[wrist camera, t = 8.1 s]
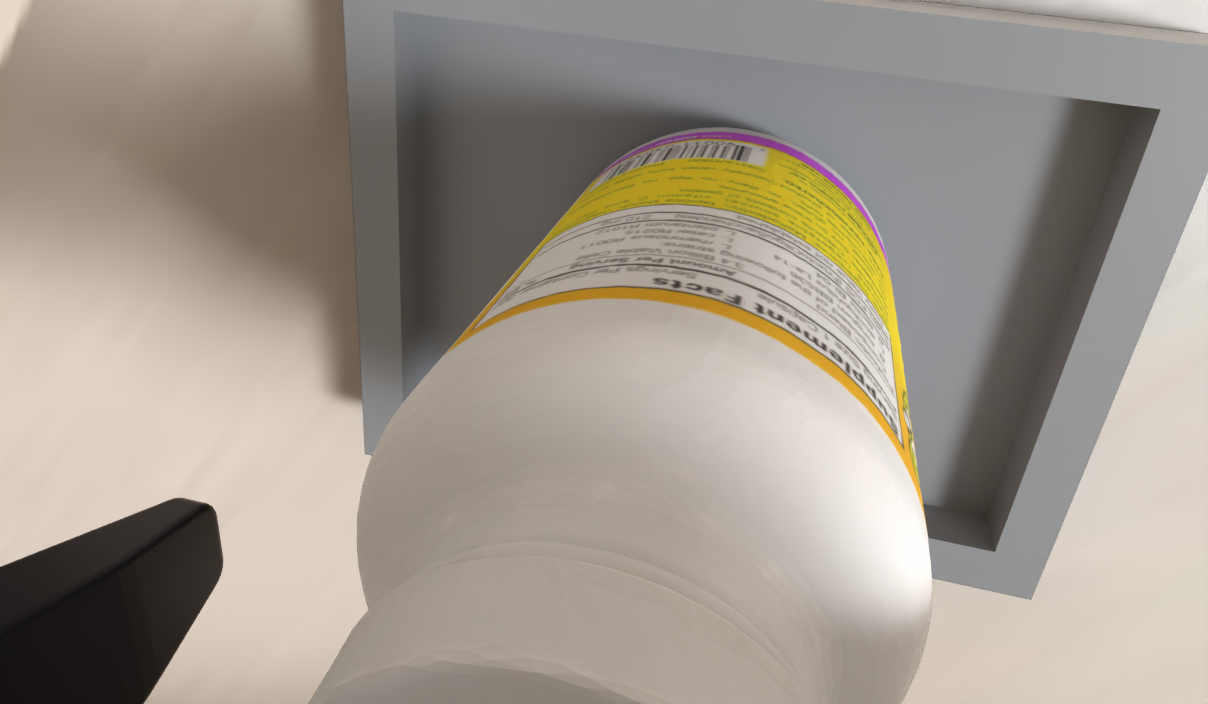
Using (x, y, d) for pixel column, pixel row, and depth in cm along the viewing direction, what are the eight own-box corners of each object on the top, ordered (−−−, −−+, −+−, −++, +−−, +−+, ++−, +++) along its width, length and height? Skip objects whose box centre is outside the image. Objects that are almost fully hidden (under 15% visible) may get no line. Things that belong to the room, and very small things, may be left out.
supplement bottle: (744, 472, 20) (623, 1177, 9) (509, 296, 20) (73, 823, 9) (968, 261, 17) (1202, 967, 6) (694, 41, 16) (377, 363, 5)
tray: (1210, 34, 15) (1257, 51, 13) (1015, 539, 20) (1031, 599, 19) (389, -60, 18) (340, -55, 16) (401, 411, 23) (364, 454, 21)
